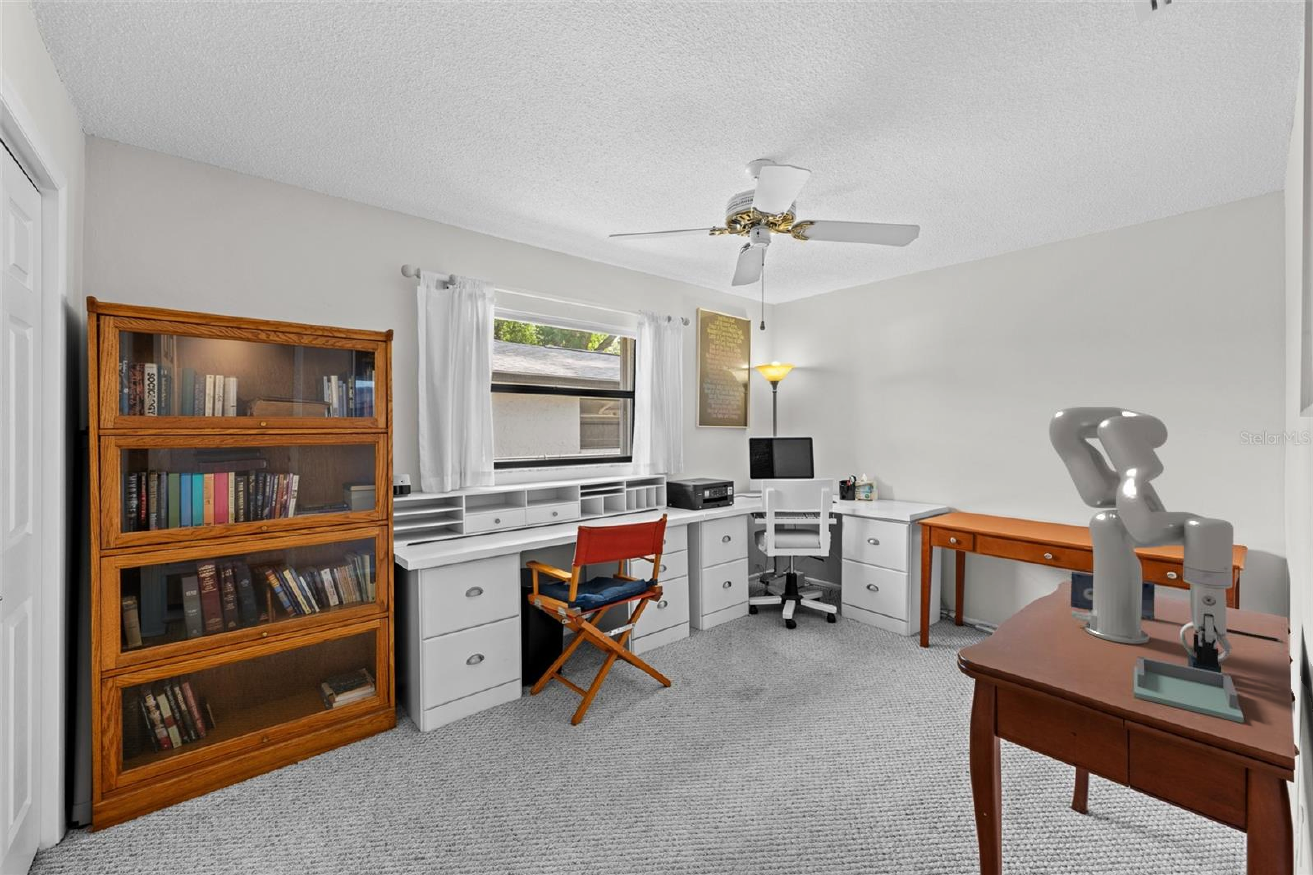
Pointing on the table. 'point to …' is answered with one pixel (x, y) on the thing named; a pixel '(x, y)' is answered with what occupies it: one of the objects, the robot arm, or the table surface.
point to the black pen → (1254, 635)
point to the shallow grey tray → (1187, 688)
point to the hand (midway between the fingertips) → (1205, 659)
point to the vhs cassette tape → (1084, 594)
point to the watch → (1192, 656)
